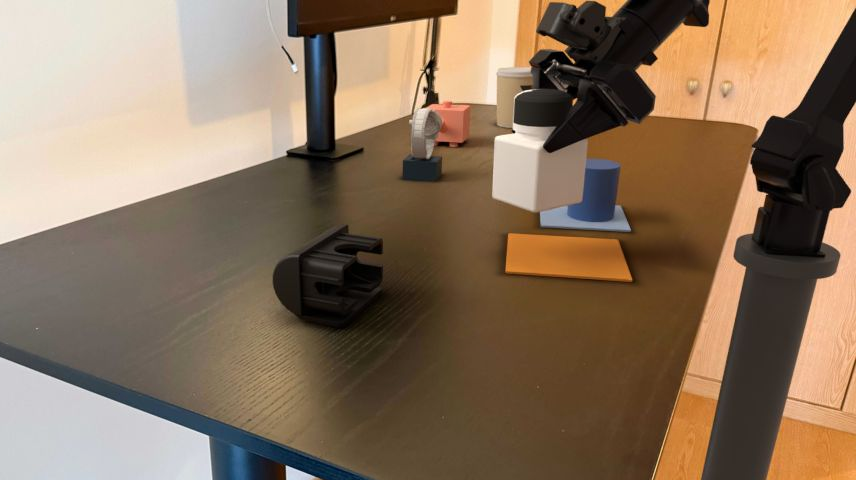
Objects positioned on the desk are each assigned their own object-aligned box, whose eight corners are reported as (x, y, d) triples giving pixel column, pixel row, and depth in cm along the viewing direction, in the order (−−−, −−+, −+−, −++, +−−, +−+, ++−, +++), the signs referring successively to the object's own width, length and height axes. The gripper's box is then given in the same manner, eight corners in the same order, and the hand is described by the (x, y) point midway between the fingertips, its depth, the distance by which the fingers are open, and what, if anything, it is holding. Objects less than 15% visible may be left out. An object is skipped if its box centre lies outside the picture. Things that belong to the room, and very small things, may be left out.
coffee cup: (526, 130, 153) (531, 72, 148) (486, 126, 157) (489, 70, 153) (541, 123, 160) (546, 68, 155) (502, 120, 164) (506, 66, 160)
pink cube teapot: (418, 149, 136) (419, 105, 133) (433, 137, 147) (434, 96, 144) (458, 151, 134) (460, 106, 131) (470, 139, 144) (472, 97, 141)
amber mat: (617, 241, 86) (618, 239, 86) (632, 282, 74) (632, 279, 74) (508, 235, 89) (508, 233, 88) (505, 273, 77) (505, 270, 77)
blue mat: (620, 207, 99) (620, 205, 99) (630, 232, 89) (631, 230, 89) (539, 203, 101) (539, 201, 101) (540, 227, 91) (540, 225, 91)
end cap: (323, 280, 75) (321, 220, 73) (384, 291, 73) (385, 228, 70) (273, 317, 67) (269, 250, 65) (340, 331, 64) (338, 262, 62)
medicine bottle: (583, 203, 78) (594, 91, 73) (534, 214, 75) (542, 97, 70) (538, 189, 84) (545, 84, 79) (490, 198, 81) (495, 90, 76)
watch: (443, 172, 119) (446, 105, 115) (433, 184, 112) (435, 113, 108) (411, 170, 121) (412, 104, 116) (399, 181, 114) (399, 112, 109)
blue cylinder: (611, 210, 97) (618, 159, 94) (616, 223, 92) (623, 169, 89) (565, 207, 98) (571, 157, 96) (568, 220, 93) (573, 168, 90)
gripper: (552, -27, 79) (453, 79, 82) (641, -32, 62) (514, 103, 65) (610, 44, 83) (514, 143, 86) (708, 58, 66) (586, 181, 69)
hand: (529, 141), depth 76 cm, fingers closed on medicine bottle, 8 cm apart
